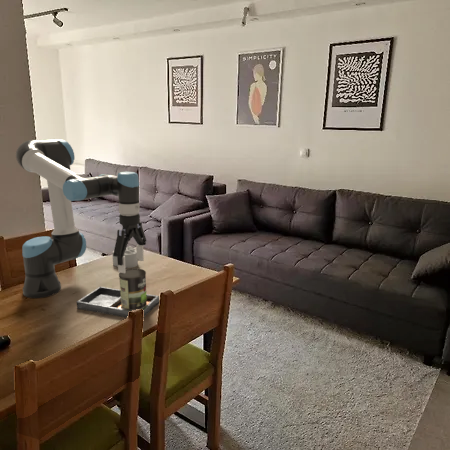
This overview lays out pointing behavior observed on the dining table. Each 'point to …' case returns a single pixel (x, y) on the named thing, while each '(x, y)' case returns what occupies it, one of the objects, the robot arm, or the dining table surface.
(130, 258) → the lumpy-topped squat cylinder
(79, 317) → the dining table surface
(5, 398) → the dining table surface
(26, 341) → the dining table surface
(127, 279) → the coffee can
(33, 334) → the dining table surface
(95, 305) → the grey divided tray
